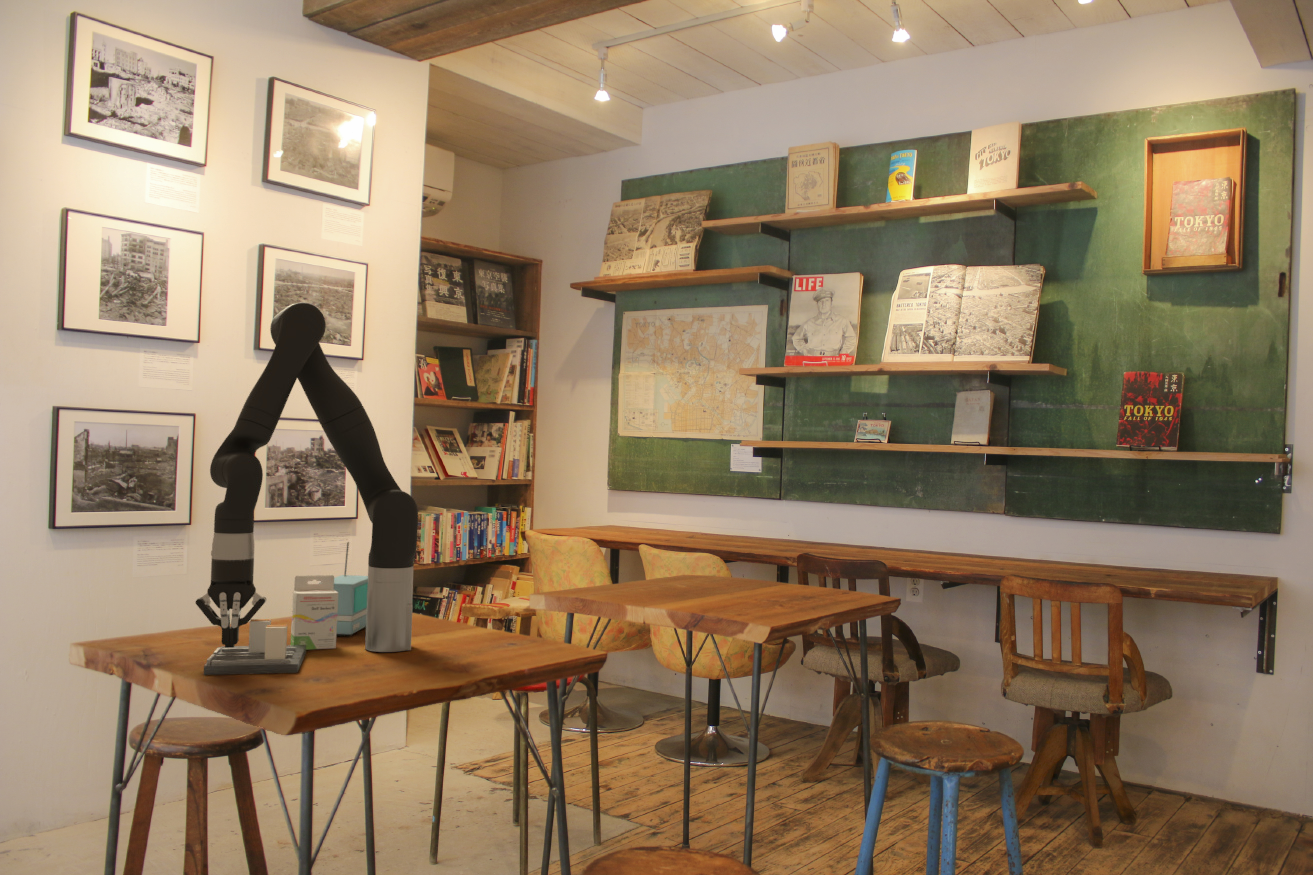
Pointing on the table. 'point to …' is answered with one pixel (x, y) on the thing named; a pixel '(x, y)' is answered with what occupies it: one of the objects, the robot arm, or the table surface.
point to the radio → (351, 602)
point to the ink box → (314, 612)
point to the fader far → (258, 634)
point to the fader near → (276, 642)
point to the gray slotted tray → (253, 661)
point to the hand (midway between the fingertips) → (229, 646)
